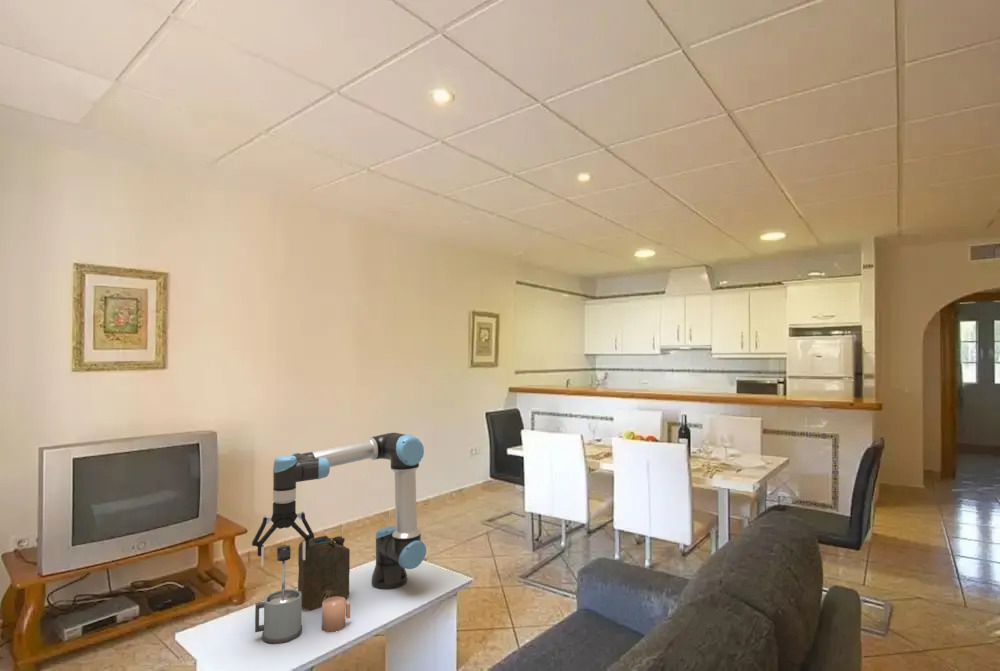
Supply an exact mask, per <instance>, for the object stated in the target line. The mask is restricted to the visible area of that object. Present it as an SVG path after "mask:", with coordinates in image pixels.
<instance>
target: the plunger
mask: <svg viewBox="0 0 1000 671" xmlns="http://www.w3.org/2000/svg"><path fill="white" fill-rule="evenodd" d="M290 559H291V545H289V544H283V545H279V546H277V548H276V561H277V562H281V590H282V593H279V594H276V595H274V596H272V597H270V599H269V602H270V603H277V604H280V603H286V602H289V601H292V600H294V599H296V598H297V594H295V593H292V592H285V589H286V588H285V587H286V583H285V582H286V561H289V560H290Z"/></svg>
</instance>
